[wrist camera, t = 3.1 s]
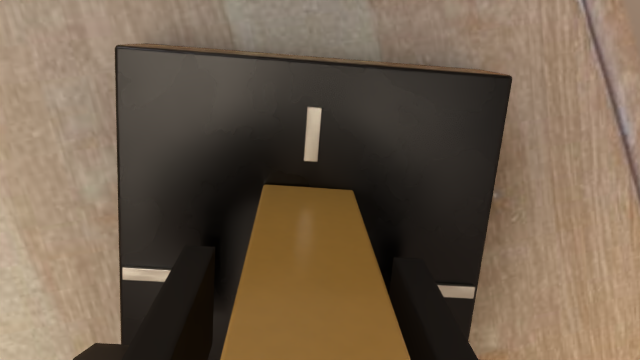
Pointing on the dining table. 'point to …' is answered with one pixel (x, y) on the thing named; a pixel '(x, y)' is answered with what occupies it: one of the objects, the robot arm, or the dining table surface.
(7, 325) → the dining table surface
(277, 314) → the lock turn
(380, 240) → the plate
